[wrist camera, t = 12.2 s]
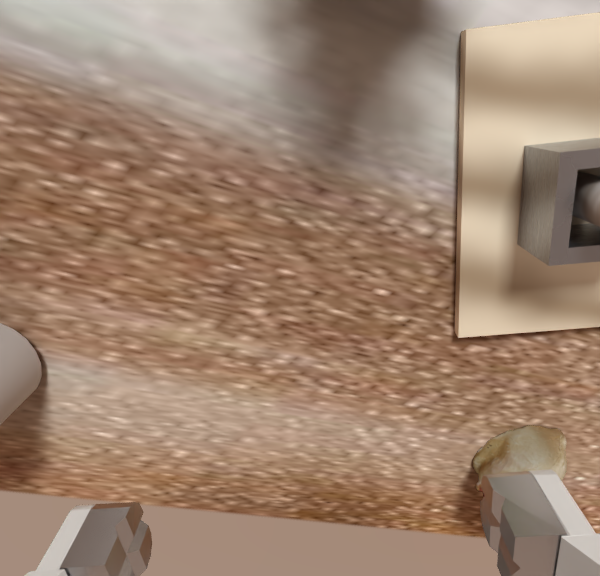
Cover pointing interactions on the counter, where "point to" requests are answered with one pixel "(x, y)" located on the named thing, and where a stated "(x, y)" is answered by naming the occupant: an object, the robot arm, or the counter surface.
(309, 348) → the counter surface
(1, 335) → the can
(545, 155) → the hollow square tube
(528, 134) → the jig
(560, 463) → the chocolate bunny
